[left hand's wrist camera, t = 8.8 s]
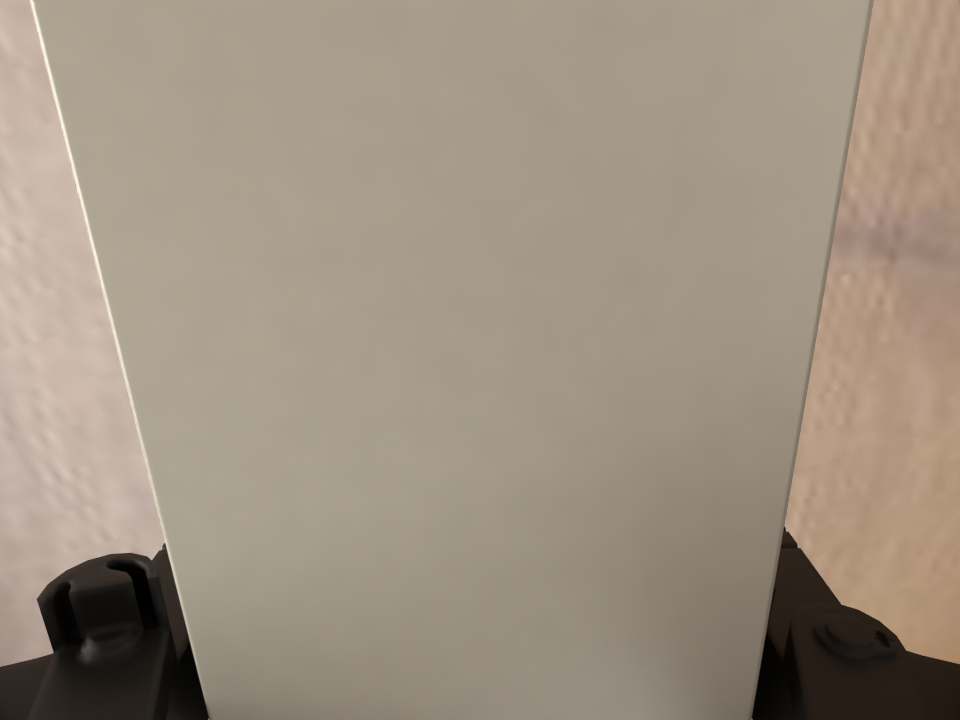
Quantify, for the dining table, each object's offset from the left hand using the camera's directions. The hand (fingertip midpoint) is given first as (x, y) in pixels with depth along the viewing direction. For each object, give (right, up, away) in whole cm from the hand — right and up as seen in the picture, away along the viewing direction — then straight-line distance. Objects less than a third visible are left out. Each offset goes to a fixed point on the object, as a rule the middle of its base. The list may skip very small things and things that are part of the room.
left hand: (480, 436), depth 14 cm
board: (0, +17, -6) cm, 18 cm away
